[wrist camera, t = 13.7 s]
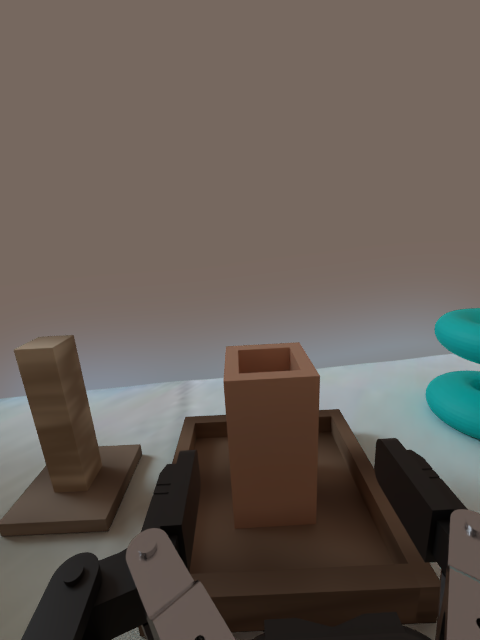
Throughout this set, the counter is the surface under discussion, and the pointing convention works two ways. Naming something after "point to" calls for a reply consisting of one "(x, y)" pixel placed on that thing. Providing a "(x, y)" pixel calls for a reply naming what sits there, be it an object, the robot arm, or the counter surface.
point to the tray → (306, 542)
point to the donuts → (458, 373)
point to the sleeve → (272, 434)
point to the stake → (66, 449)
